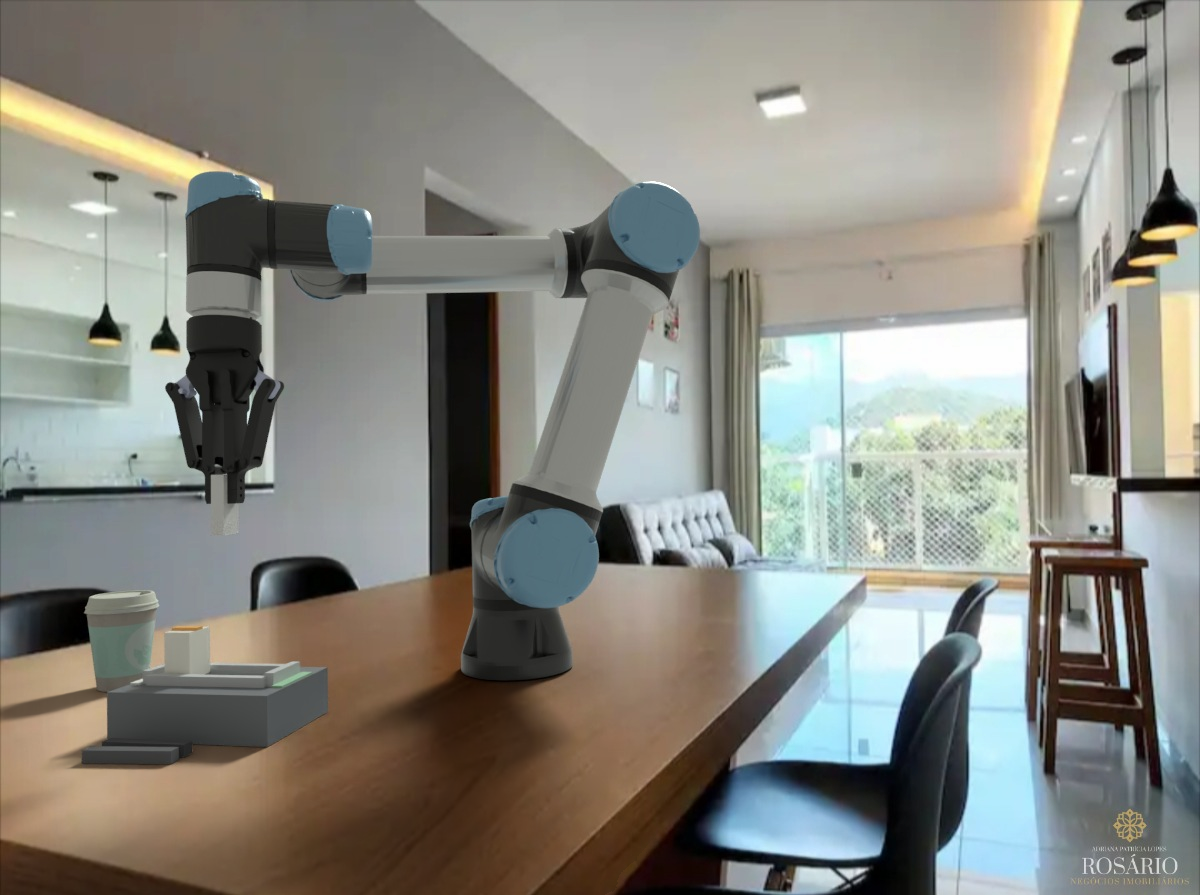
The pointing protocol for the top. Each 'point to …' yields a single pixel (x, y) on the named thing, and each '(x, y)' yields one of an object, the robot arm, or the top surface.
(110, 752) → the dark gray bar
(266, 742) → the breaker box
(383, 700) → the top surface
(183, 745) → the dark grey long bar
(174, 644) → the white upright block
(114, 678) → the coffee cup
